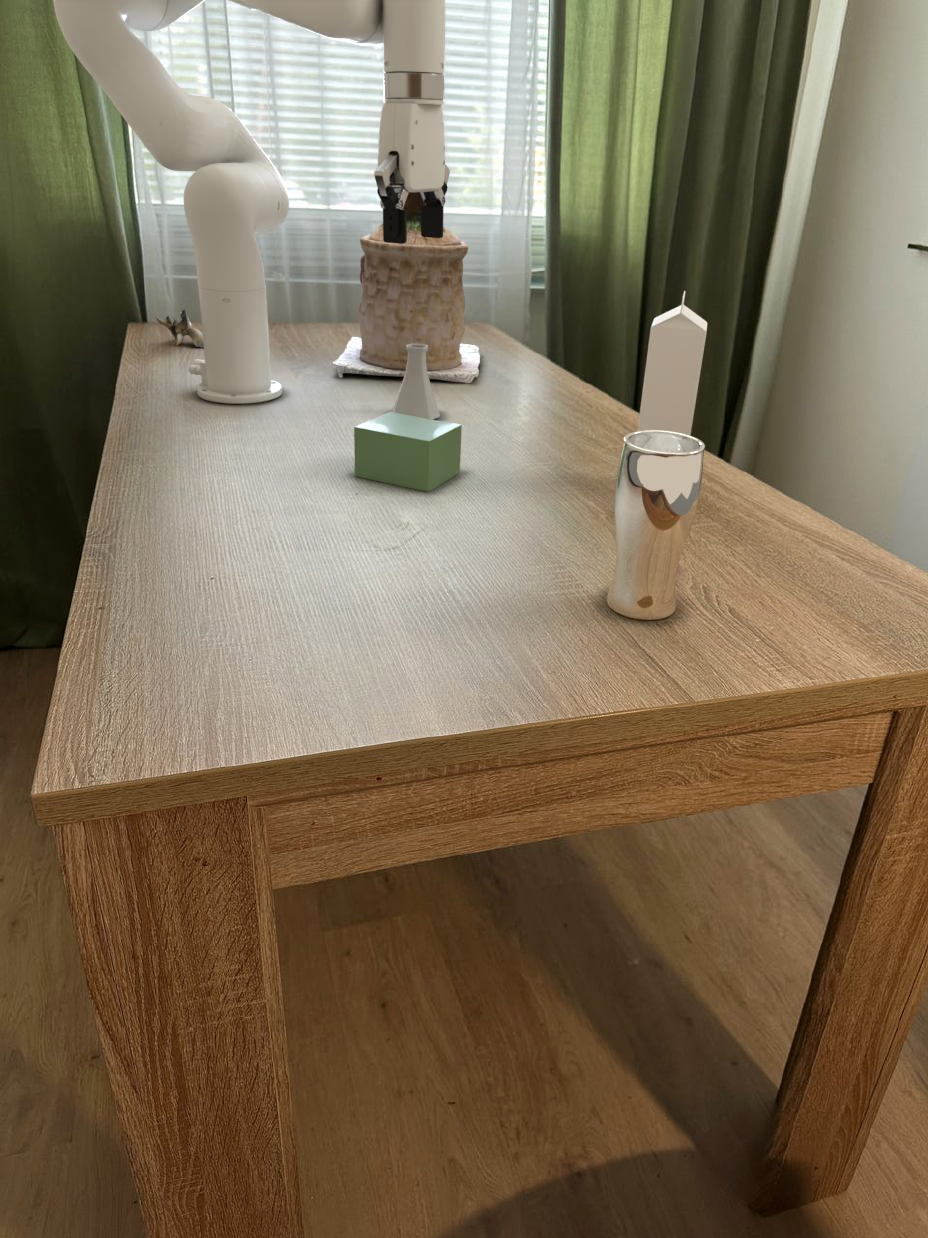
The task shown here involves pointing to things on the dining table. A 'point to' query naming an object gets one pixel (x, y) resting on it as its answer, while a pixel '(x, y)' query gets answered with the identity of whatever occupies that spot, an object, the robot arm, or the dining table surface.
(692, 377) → the milk
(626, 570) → the beer glass
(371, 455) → the green block
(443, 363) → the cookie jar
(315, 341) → the dining table surface
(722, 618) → the dining table surface
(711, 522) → the dining table surface
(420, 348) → the flask
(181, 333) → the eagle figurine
